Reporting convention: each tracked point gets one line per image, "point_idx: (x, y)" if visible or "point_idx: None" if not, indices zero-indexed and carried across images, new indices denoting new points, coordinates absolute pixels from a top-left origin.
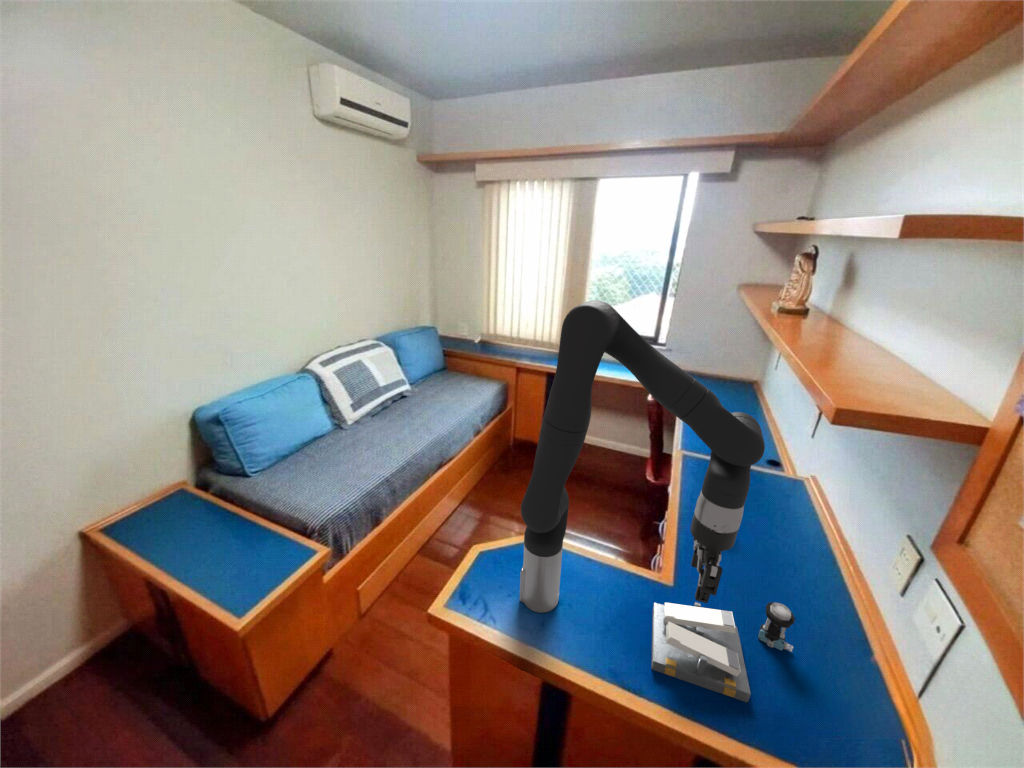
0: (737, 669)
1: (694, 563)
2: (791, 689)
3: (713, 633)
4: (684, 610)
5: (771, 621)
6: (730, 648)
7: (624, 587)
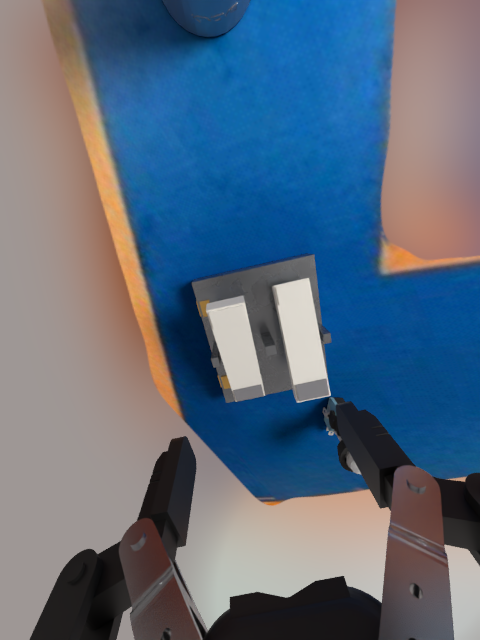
0: (236, 398)
1: (344, 423)
2: (273, 428)
3: None
4: (302, 317)
5: (341, 440)
6: (282, 377)
7: (336, 184)
